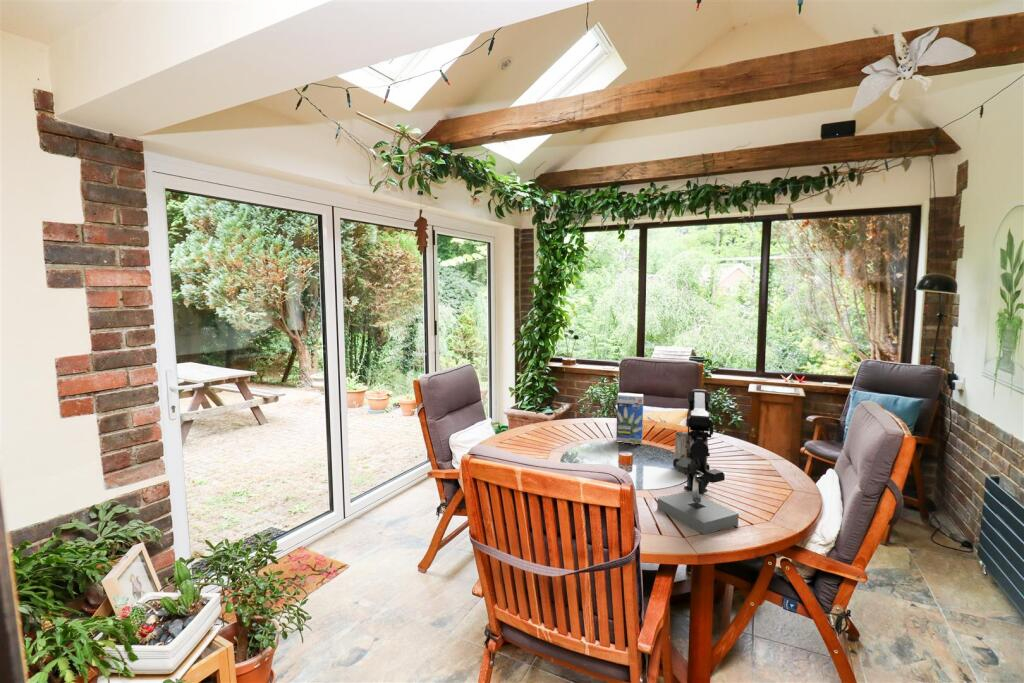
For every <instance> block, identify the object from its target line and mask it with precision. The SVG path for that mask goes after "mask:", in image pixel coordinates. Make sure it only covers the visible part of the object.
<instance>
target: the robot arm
mask: <svg viewBox="0 0 1024 683" xmlns="http://www.w3.org/2000/svg"><path fill="white" fill-rule="evenodd" d="M687 404H689V405H688V406H689V407H688V408H689V411H690V414H689V415H690V416H688V417H687V432H688V436H690V451H688V452H687V456H686V457H680V458H675V457H674V459H673V461H672V462H673V464H672V466H673V467H674V468H676V467H677V468H676V469H677V472H678V473H681V474H683V475H685V476H686V477H687V478H686V479H687V480H686V481H687V482H686V483H687V484H686V485H685V486H683V489H685V490H687V491H692V492H693V475H701V476H699V477H696V478H697V479H698V480H699V494H700V495H701V494H702V495H703V493H704V492H708V489H707V486H708V485H709V483H711V484H714V483H719V482H723V481H725V476H726V475H725V473H724V471H721V470H719V469H716V468H713V469H712V468H710V464H709V462H708V457H710V455H711V453H710V452H709V451H710V449H709V444H708V441H709V440H708V439H709V438H711V439H712V435H714V421H713V419H712V417H711V418H710V413H709V411H708V410H709V406H710V405H711V393H709V392H707V390H705V389H699V388H697V389H692V390H691V391H688V392H687ZM702 495H701V496H702Z"/></svg>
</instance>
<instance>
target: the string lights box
mask: <svg viewBox="0 0 1024 683" xmlns="http://www.w3.org/2000/svg"><path fill="white" fill-rule="evenodd" d="M616 405H617V408H616V437H615V438H616V439H615V442H616V441H622V442H633V443H642V444H643V427H644V426H643V422H644V421H643V419H644V393H632V392H618V393H617V404H616Z"/></svg>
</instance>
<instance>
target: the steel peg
mask: <svg viewBox="0 0 1024 683" xmlns="http://www.w3.org/2000/svg"><path fill="white" fill-rule="evenodd" d="M699 476H701V475H693V492H692V501H693V502H697V503H700V502H701V496H703V494H701V495H700V494H699V480H698V479H697V478H696V477H699Z"/></svg>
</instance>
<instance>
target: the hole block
mask: <svg viewBox="0 0 1024 683" xmlns="http://www.w3.org/2000/svg"><path fill="white" fill-rule="evenodd" d="M656 502H657V503H656V505H657V508H656V509H657V510H659V511H660V512H662V513H664V514H666V515H668V516H670V517H671V518H674V519H675V520H677V521H679V522H680V523H682V524H684V525H686V526H688V527H689V528H691V529H693V530H695V531H696V532H698V533H700V534H701V535H707V534H710V533H711V534H712V533H714V532H717V531H720V530H725V529H728V528H732V527H735V526H738V525H739V516H740V515H739V513H738V512H737V511H734V510H732V509H730V508H728V507H725V506H723V505H722V504H720V503H717V502H715V501H713V500H711V499H709V498H707V497H705V496H703V495H701V502H700V503H697V502H693V501H692V491H689V490H687V491H683V492H678V493H674V494H669V495H665V496H662V497H661V496H660V497H658V498H657V501H656Z"/></svg>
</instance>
